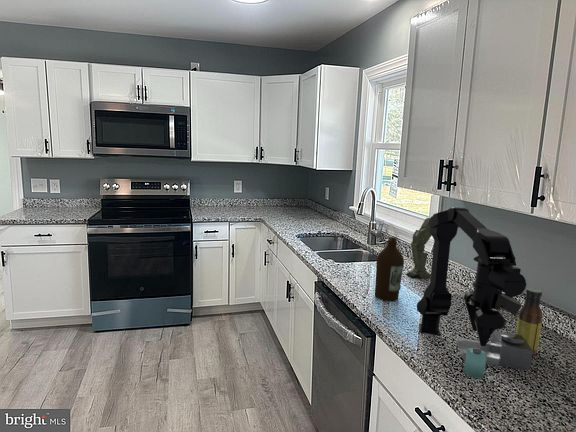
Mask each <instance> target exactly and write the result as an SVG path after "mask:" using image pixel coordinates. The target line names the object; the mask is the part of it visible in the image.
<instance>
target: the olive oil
mask: <svg viewBox="0 0 576 432" xmlns="http://www.w3.org/2000/svg"><path fill="white" fill-rule="evenodd" d="M397 241H398V239H397V237H396V236H389V237H388V240H387V246H386V247H385V248H383V249H382V250H381V251H380V252H379V253H378V255H377V257H376V267H375V270H376V271H375V285H374V297H375V298H376V299H377V300H378V299H379V300H381V301H384V302H385V301H386V302H396V301H398V300H399V296H400V290H401V287H402V285H401V282H402V277H403V271H404V265H405V260H404V259H405V258H404V256H403V254H402V253H401V252H400V251H399V249H398V248H397Z"/></svg>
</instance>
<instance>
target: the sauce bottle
mask: <svg viewBox="0 0 576 432" xmlns="http://www.w3.org/2000/svg"><path fill="white" fill-rule="evenodd" d="M525 291H526V292H525V293H526V295H525V301H524V303H523V304H522V307H521V308H520V310H519V312H518V317H517V323H516V324H517V325H516V330H515V334H518V335H522V337H523V338H524V339H525V341H526V342H527V343H528V345H529V346H530V347H531V348H532V350H533V354H532V356H536V355H537V353H538V349H539V344H540V338H541V330H542V324H543V316H544V315H543V314H544V313H543V310H542V308H541V307H540V304H541V297H542V295H543V291H542V290H541V289H538V288H535V287H534V288H533V287H526V289H525Z"/></svg>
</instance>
